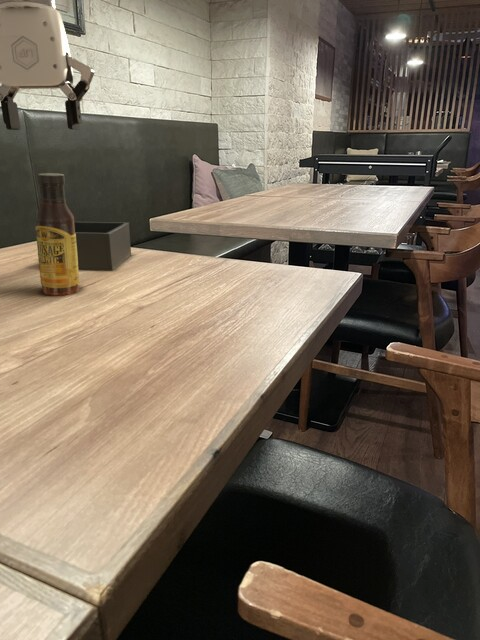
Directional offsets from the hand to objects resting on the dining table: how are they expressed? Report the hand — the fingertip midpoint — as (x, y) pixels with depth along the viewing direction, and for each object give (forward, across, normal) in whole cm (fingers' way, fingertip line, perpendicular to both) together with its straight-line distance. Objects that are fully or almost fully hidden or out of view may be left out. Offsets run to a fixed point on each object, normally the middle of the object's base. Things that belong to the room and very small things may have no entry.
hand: (43, 129), depth 76 cm
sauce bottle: (+27, -1, 0) cm, 27 cm away
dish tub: (+26, -4, +21) cm, 34 cm away
